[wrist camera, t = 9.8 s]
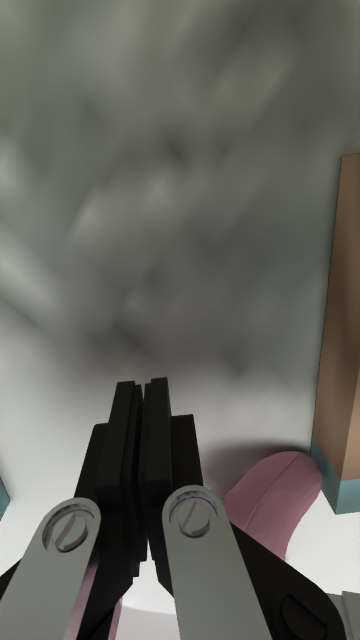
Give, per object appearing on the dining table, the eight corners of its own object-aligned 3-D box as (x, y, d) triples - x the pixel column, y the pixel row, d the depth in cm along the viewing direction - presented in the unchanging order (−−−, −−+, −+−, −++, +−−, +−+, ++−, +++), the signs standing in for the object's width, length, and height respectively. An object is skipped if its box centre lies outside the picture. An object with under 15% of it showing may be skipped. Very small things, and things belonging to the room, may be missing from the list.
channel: (-182, 201, 10) (-290, 201, 7) (400, 151, 10) (471, 138, 8) (-32, 506, 15) (-67, 562, 13) (347, 462, 15) (380, 509, 13)
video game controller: (230, 421, 16) (178, 553, 10) (325, 448, 14) (330, 625, 8) (217, 543, 20) (173, 693, 14) (291, 576, 18) (278, 762, 12)
